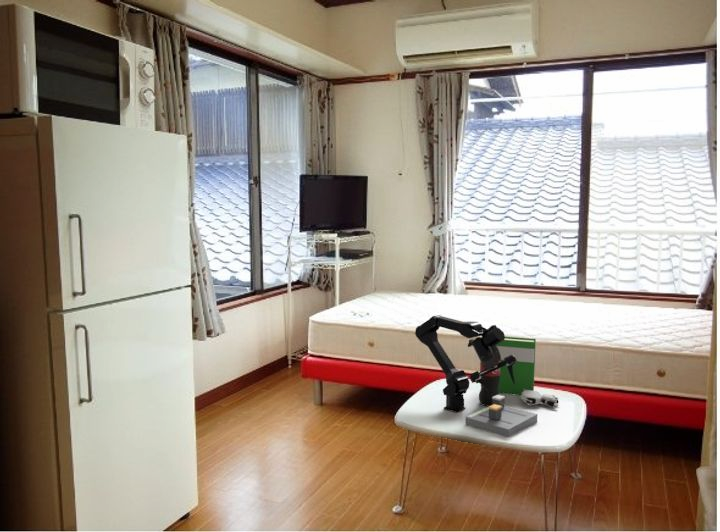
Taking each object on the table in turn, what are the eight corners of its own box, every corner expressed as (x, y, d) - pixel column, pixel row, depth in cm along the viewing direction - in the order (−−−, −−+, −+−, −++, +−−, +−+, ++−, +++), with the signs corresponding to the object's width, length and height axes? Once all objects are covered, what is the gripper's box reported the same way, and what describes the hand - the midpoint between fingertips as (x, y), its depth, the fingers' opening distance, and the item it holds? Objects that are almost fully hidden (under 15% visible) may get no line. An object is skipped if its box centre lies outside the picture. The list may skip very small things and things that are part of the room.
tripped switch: (488, 418, 224) (488, 406, 223) (494, 415, 227) (494, 404, 226) (495, 420, 222) (496, 408, 221) (501, 417, 225) (502, 406, 224)
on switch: (491, 408, 235) (492, 397, 235) (497, 405, 238) (497, 394, 238) (499, 410, 233) (499, 398, 233) (504, 407, 236) (504, 396, 236)
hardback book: (533, 391, 268) (535, 338, 265) (532, 396, 261) (534, 342, 258) (493, 387, 273) (494, 335, 271) (491, 392, 266) (493, 338, 264)
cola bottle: (503, 406, 248) (505, 334, 245) (486, 408, 245) (488, 336, 242) (491, 399, 256) (493, 330, 252) (474, 402, 252) (476, 331, 249)
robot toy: (557, 403, 255) (521, 397, 259) (558, 393, 254) (522, 387, 258) (557, 413, 243) (519, 406, 247) (559, 402, 242) (521, 395, 247)
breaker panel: (465, 424, 226) (465, 416, 226) (495, 410, 242) (495, 403, 242) (508, 437, 214) (508, 429, 214) (537, 421, 230) (537, 413, 230)
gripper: (460, 360, 224) (479, 398, 219) (506, 338, 223) (526, 376, 217) (463, 363, 235) (481, 400, 229) (506, 343, 233) (526, 379, 227)
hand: (503, 389), depth 225 cm, fingers open, 9 cm apart
